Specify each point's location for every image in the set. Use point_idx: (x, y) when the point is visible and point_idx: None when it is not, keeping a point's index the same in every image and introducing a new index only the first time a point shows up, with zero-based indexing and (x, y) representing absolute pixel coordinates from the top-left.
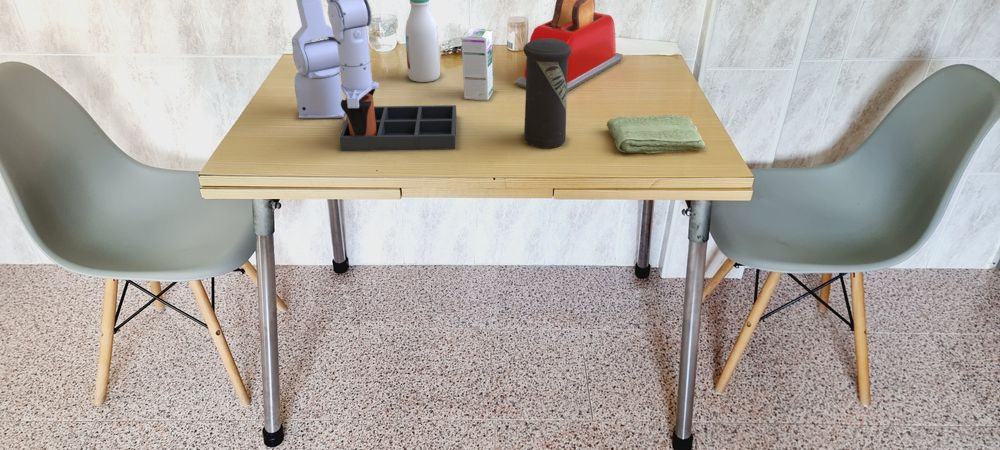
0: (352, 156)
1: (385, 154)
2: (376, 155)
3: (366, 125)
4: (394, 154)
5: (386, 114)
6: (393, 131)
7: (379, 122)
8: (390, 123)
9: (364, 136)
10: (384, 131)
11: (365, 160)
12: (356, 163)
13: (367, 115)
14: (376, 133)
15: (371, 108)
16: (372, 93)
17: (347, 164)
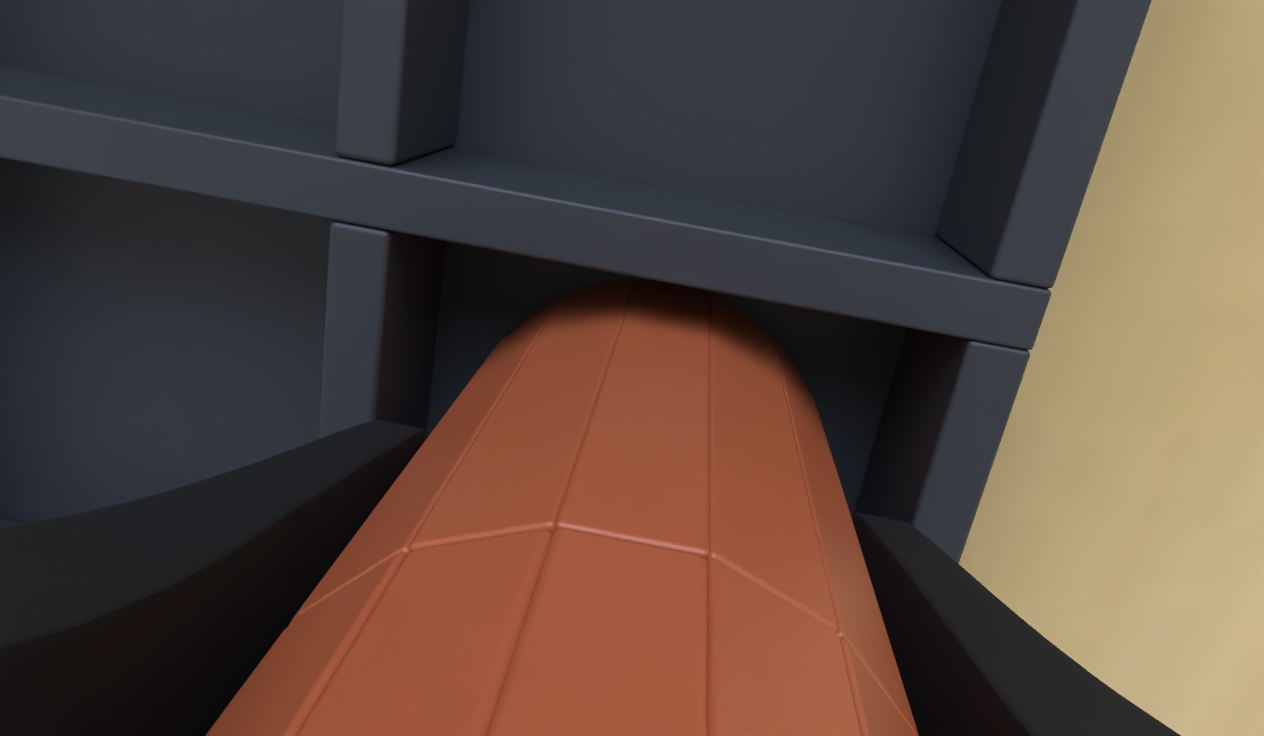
0: (1021, 597)
1: (1124, 195)
2: (1107, 319)
3: (988, 594)
4: (1177, 60)
5: (7, 88)
6: (462, 9)
7: (393, 248)
8: (417, 46)
9: (943, 535)
10: (492, 160)
11: (1200, 465)
12: (1238, 571)
13: (1016, 692)
14: (666, 306)
15: (813, 632)
16: (27, 678)
17: (1219, 663)
